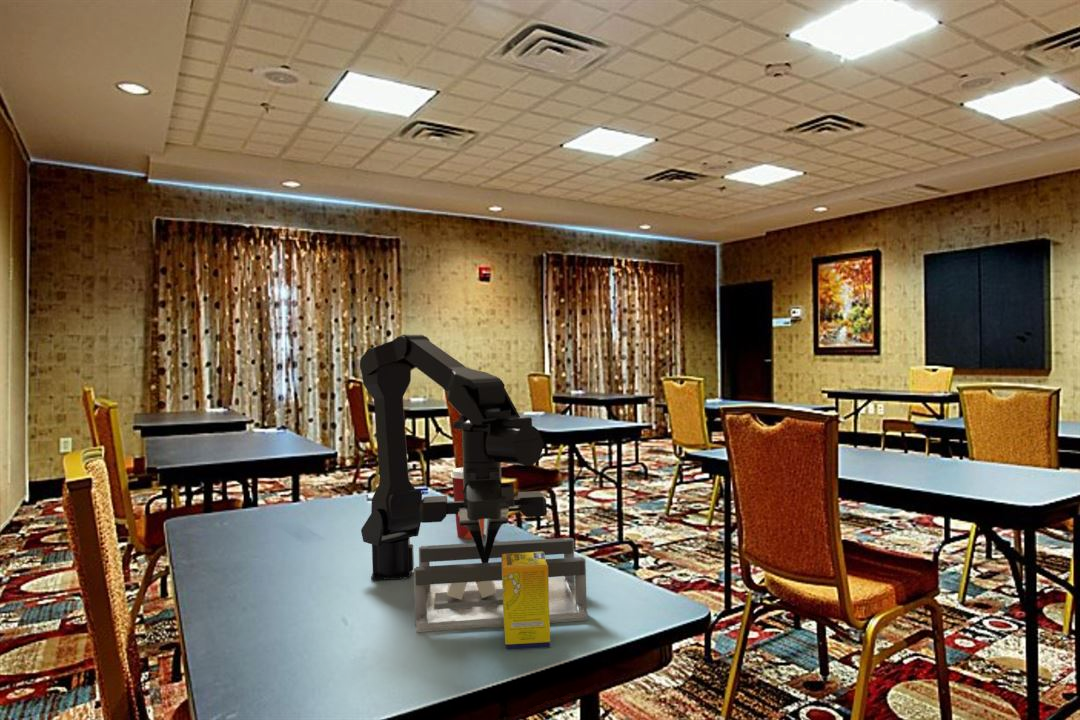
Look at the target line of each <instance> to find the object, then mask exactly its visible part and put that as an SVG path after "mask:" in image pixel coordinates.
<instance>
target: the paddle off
mask: <svg viewBox="0 0 1080 720" xmlns="http://www.w3.org/2000/svg"><path fill="white" fill-rule="evenodd" d="M476 584H477V587H478V589H479V592H480V594H481V597H482V598H485V597H487V596H489V595H492V594H494V593H496V588H495V584H494V581H479V582H476Z"/></svg>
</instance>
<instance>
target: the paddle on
mask: <svg viewBox="0 0 1080 720" xmlns="http://www.w3.org/2000/svg"><path fill="white" fill-rule="evenodd" d="M467 583H468V582H463V583H448V584H449V586H448V590H447V596H450V597H453V598H457V599H460V600H461V599H462V596H463V593H464V590H465V587H466V584H467Z"/></svg>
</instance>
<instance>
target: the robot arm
mask: <svg viewBox="0 0 1080 720" xmlns="http://www.w3.org/2000/svg"><path fill="white" fill-rule="evenodd" d="M359 369H360V372H361V378H362V383H363V386H364V387H365V389H366V390H367V392H368V393H369V395H370V396H371V398H372V400H373V403H374V404H373V405H374V418H375V432H376V433H375V434H376V435H375V436H376V448H377V458H378V459H377V462H378V463H377V464H378V472H379V473H378V474H379V475H378V477H379V483H378V486H377V488H376V489H375V491H374V494H373V496H372V498H371V509H370V511H371V513H370V515H369V516H368V518H367V519H366V521H365V523H364V524H363V526H362V527H361V529H360V534H361V536H362V541H363V543H366V544H370V545H371V557H372V558H371V559H372V574H371V576H370V581H379V580H396V579H397V580H399V579H409V578H410V577H411V573H412V572H414V567H415V563H414V562H415V561H414V560H415V558H414V553H415V552H414V544H413V543H411V540H410V538H413V537H418V536H419V534H420V529H421V524H422V523H423V524H428V523H442V522H443V520H444V519H445V518H447V515H455V514H458V517H459V525H460V526H466V527H467V528H468V530H469V531H470V533H471V535H472V537H473V538H472V540H473V541H474V543H475V544H476V547H477V550H478V553H479V556H480V559H479V560H480V561H481V562H480V563H489V560H490V559H491V558H490V554H491V551H492V547H493V543H494V542H495V540H496V537H497V535H498V533H499V530H500V529H501V527H502V526H503V525H505V524H509V523H510V522H509V521H510V520H509V516H508V515H509V514H510V513H509V512H517V511H519V512H520V513H521V514H522V515H523V516H524V517H526V518H537V517H539V518H540V517H546V516H547V515H548V509H547V507H548V506H547V505H548V504H547V499H546V497H545V495H544V494H543V493H542V491H540V490H535V491H518V492H517V497H515V487H514V486H515V485H514V482H510V481H509V482H502V464H507V465H509V464H510V465H518V466H525V467H531V466H533V465H535V464H536V463H537V462H538V461H539V460H540V458H541V456H542V453H543V449H544V440H543V438H542V435H541V433H540V431H539V430H538V429H537V427H536V426H534V425H533V418H532V417H531V416H523V417H521V415H520V414H519V412H518V410H517V408H516V407H515V405H514V403H513V401H512V399H511V397H510V396H509V394H508V392H507V390H506V388H505V387H506V386H505V383H504V382H503V381H502V379H501V378H499V377H498V376H496V375H493V374H490V373H489V372H485V371H481V370H477V369H473V368H469V367H467V366H465V365H464V364H463V363H461V362H460V361H459V360H457V359H455V358H454V357H452V356H451V355H450V354H448V353H447V352H446V351H444V350H443V349H442V348H440V347H438V346H437V345H435V344H434V343H433V342H431V341H430V338H428V336H425V335H423V334H402V335H400V336H397V337H395V338H394V339H393V340H391V341H388V342H386V343H383V344H379V345H377V346H374V347H371V348H368V349H366V351H365V352H364V354H363V355H362V356H361V357H360V361H359ZM414 369H417V370H419V371H420V372H421V373H423V374H424V375H425V376H427V377H428V378H429V379H430V380H432V381H433V382H434V383H436V384H437V385H438V386H440V387H441V388H442V389H443V390H444V391H445V392H446V396H447V401H448V403H450V405H451V406H452V407H453V408H454V409H455V410H456V411H457V413H458V414H459V415H460V417H459V418H458V419H457V420H456V421H455V422H454V423H453V425H452V428H453V430H458V431H459V430H461V436H462V439H461V442H462V467H463V482H464V488H463V500H464V501H448V496H447V495H437V496H436V495H434V496H424V498H423V492H422V491H421V489H419V488H418V489H417V488H415V486H414V485H413V483H412V482H411V481H410V475H409V466H408V464H409V462H408V450H407V439H406V438H407V437H406V436H407V435H406V426H405V425H406V423H405V410H404V408H405V407H404V396H405V395H406V394H405V393H406V391H407V390H408V387H409V386H410V383H411V381H412V378H411V377H412V371H413V370H414ZM479 519H484V520H485V519H486V521H487V522H486V531H485V542H484V539H483V536H482V533H481V527H480V521H479ZM483 543H485V552H484V545H483Z"/></svg>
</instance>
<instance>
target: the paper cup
mask: <svg viewBox="0 0 1080 720" xmlns="http://www.w3.org/2000/svg"><path fill="white" fill-rule="evenodd" d="M450 477H451V479H452V491H453V500H454V501H464V500H463V488H464V482H463V466H462V467H457V468H453V469H452V473H451V474H450ZM454 515H455V523H456V526H455V527H456V534H457V537H458V538H460V539H466V540H467V539H470V540H471V539H472V540H473V537H472V535H471V533H470V531H469V530H468V528H467V527H466V526H460V525H459V517H458V514H454ZM479 521H480V527H481V533H482V537H483V536H484V533H485V519H479Z"/></svg>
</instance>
